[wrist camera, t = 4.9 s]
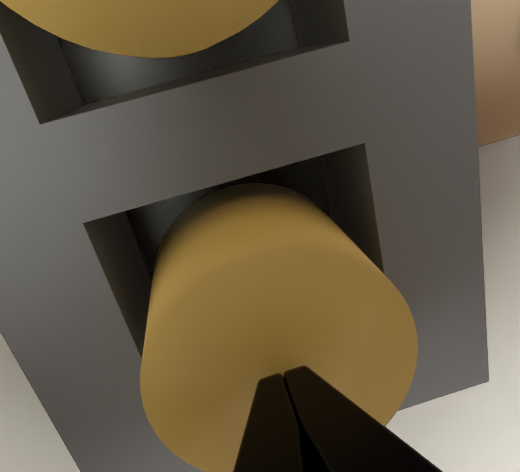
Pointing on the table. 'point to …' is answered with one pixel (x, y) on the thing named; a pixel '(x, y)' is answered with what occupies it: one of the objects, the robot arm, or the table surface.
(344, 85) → the board
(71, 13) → the button
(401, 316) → the button
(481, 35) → the card
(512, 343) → the table surface
